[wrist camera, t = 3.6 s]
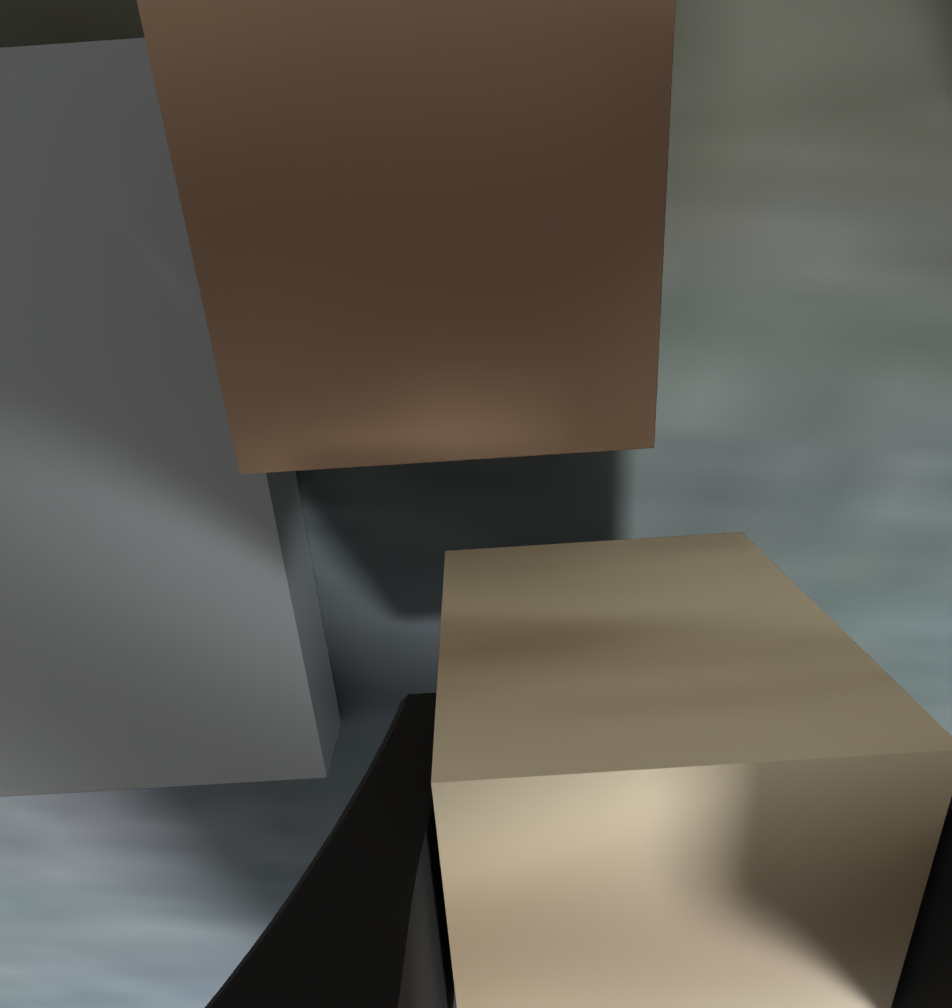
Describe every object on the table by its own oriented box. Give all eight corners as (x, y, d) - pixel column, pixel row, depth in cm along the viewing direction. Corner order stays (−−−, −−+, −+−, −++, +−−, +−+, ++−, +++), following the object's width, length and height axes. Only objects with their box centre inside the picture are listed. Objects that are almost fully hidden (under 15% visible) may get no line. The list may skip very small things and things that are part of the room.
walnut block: (582, 371, 11) (653, 448, 7) (325, 388, 11) (240, 474, 7) (583, 65, 9) (678, -86, 5) (279, 87, 9) (127, -47, 5)
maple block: (718, 762, 11) (873, 1069, 7) (465, 778, 11) (466, 1093, 7) (742, 531, 9) (965, 749, 5) (445, 551, 9) (430, 782, 5)
